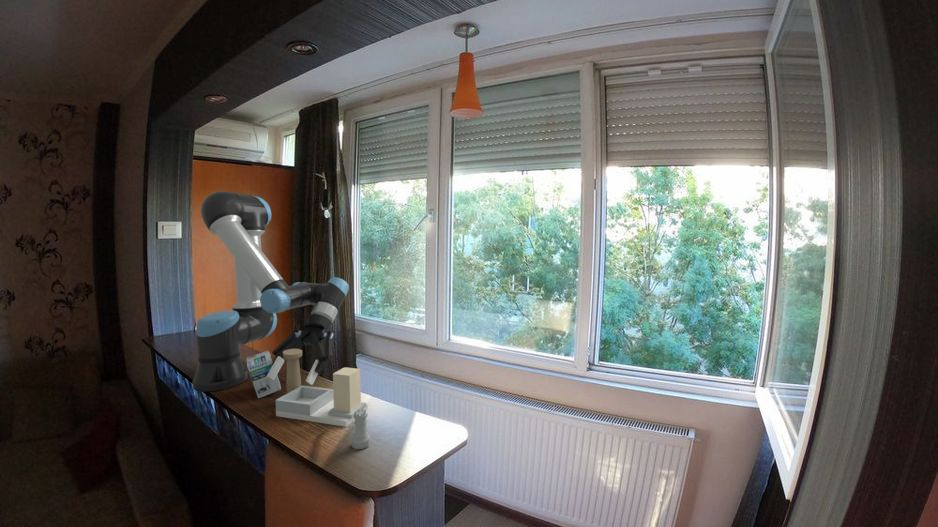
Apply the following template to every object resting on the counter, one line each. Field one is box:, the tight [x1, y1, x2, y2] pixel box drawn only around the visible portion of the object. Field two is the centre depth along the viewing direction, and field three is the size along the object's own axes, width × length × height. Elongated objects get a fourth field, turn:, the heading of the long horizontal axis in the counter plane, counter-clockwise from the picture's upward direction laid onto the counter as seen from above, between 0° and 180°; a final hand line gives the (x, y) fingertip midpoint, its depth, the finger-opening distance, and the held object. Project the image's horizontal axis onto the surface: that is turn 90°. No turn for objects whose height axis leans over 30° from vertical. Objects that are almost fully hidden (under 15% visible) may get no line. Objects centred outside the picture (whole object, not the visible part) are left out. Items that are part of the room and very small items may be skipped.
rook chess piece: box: [350, 409, 372, 450], centre depth 82 cm, size 4×4×8 cm
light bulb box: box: [246, 350, 282, 399], centre depth 111 cm, size 11×7×11 cm, turn 34°
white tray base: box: [275, 366, 368, 428], centre depth 98 cm, size 22×10×12 cm, turn 75°
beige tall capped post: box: [282, 348, 303, 394], centre depth 105 cm, size 5×6×15 cm
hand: (289, 380), depth 103 cm, fingers open, 13 cm apart
